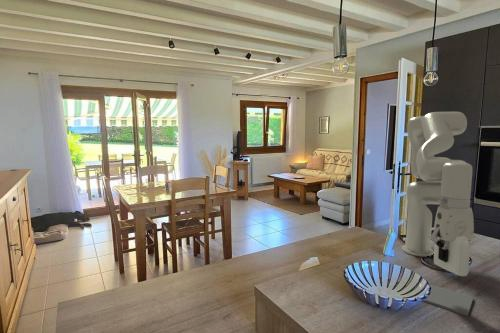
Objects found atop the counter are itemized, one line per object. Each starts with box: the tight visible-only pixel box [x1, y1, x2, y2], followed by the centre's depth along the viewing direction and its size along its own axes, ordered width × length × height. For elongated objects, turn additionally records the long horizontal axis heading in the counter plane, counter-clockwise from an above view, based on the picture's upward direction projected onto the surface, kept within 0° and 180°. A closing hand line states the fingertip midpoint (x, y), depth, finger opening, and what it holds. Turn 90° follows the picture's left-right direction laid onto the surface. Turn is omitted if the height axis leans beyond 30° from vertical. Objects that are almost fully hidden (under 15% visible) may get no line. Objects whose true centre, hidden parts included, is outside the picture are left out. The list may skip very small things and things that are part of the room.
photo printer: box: [433, 235, 471, 277], centre depth 94 cm, size 10×4×12 cm, turn 13°
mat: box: [423, 284, 474, 317], centre depth 95 cm, size 12×12×1 cm
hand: (450, 259), depth 94 cm, fingers closed on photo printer, 4 cm apart
